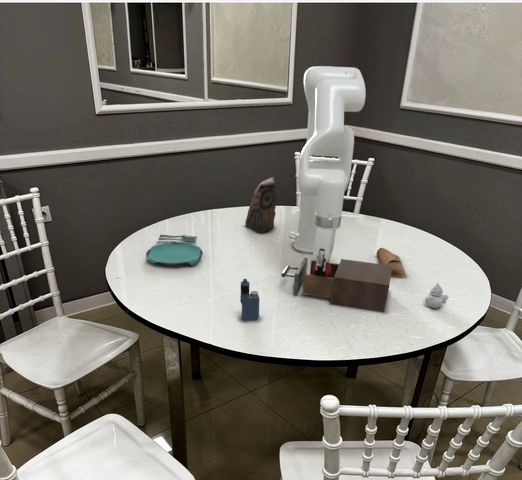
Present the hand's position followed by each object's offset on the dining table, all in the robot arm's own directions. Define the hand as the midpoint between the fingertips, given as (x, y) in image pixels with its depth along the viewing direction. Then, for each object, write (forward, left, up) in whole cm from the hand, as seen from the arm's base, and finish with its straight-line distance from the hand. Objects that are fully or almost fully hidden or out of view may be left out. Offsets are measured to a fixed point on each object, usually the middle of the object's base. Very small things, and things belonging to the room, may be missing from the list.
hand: (321, 277), depth 146 cm
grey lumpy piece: (+33, +11, -5) cm, 35 cm away
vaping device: (-9, -27, -5) cm, 29 cm away
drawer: (-2, -1, -4) cm, 4 cm away
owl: (-47, +41, -5) cm, 62 cm away
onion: (0, 0, -2) cm, 2 cm away
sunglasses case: (+12, +33, -5) cm, 35 cm away
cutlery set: (-57, -1, -5) cm, 57 cm away
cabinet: (+12, +3, -5) cm, 13 cm away
